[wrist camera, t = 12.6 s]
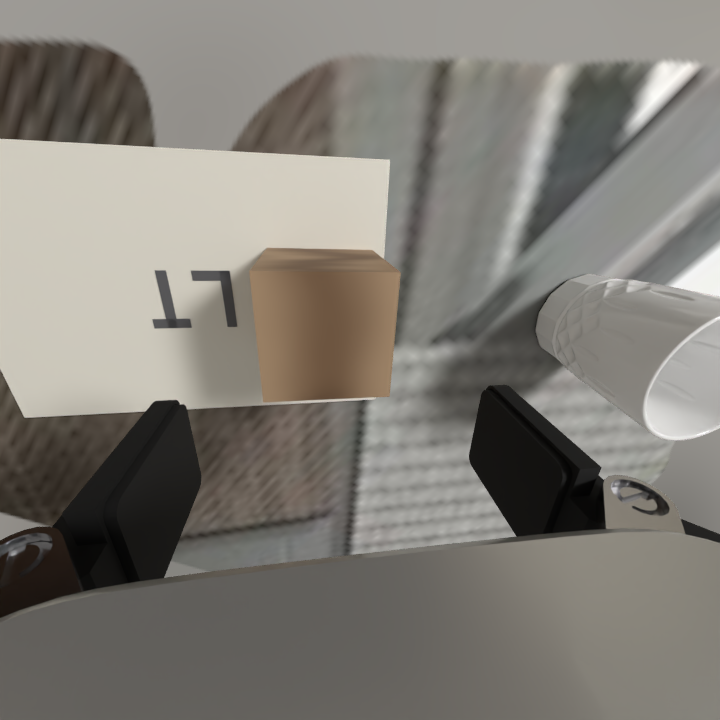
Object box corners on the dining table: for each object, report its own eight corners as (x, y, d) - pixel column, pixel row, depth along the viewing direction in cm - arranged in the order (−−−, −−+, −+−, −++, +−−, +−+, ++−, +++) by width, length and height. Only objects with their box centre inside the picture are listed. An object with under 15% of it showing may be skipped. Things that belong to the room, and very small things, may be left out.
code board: (387, 160, 19) (390, 159, 19) (373, 395, 26) (375, 399, 26) (-104, 134, 16) (-120, 132, 15) (31, 412, 23) (24, 418, 22)
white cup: (569, 248, 23) (731, 280, 14) (643, 287, 26) (823, 336, 17) (508, 345, 26) (612, 423, 17) (580, 373, 28) (705, 453, 19)
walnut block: (372, 249, 21) (400, 272, 15) (367, 343, 24) (389, 396, 17) (267, 247, 20) (248, 271, 14) (275, 345, 23) (263, 402, 16)
